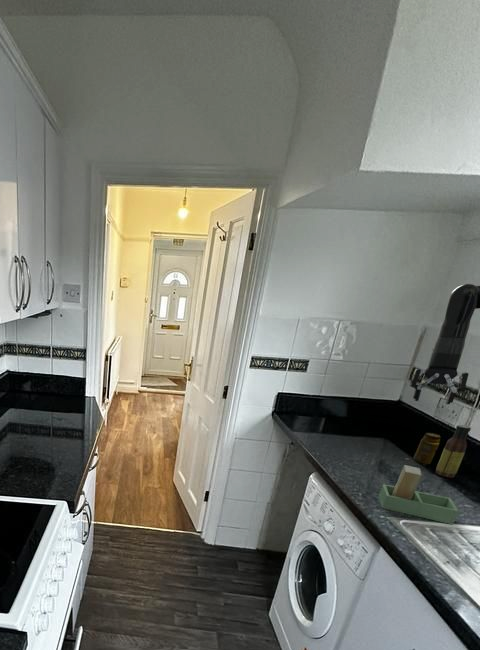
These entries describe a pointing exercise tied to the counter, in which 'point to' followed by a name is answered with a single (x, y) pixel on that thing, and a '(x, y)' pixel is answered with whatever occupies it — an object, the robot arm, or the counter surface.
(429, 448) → the condiment
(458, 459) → the sauce bottle
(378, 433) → the counter surface
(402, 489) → the cosmetic box
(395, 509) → the holder
